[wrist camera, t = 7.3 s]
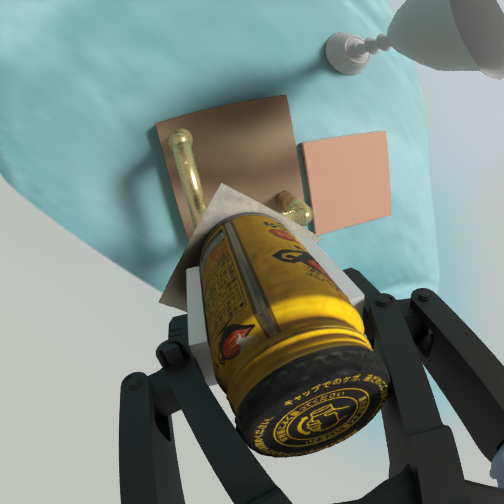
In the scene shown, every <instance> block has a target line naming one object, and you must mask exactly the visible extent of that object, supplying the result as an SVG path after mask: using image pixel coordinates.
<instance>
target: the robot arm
mask: <svg viewBox="0 0 504 504" xmlns="http://www.w3.org/2000/svg"><path fill="white" fill-rule="evenodd" d="M298 241H299V242H300V243H301V244H302V245H303V246H304V247H305V249H306V250H307V251H308V252H309V254H310V255H311V256H312V257H313V258H314V260H316V261H317V262H318V263H319V265H320V267H321V268H322V269H323V270H324V272H325V273H326V274H327V275H328V277H329V278H330V279H331V280H332V281H333V282H334V284H335V285H336V286H337V287H338V288H339V289H340V291H341V292H342V293H343V294H344V295H346V296H347V297H348V298H349V301H350V302H351V304H352V306H353V307H354V308H355V309H356V310H357V311H358V313H359V315H360V317H361V319H362V321H363V325H364V330H365V334H366V336H367V339H368V341H369V343H370V345H371V348H372V350H373V351H374V352H375V353H376V354H377V355H378V356H379V357H380V358H381V359H382V361H383V363H384V364H385V365H386V367H387V370H388V374H389V377H390V381H391V385H390V391H389V394H388V397H387V399H386V401H385V403H384V405H383V406H382V408H381V412H382V418H383V422H384V429H385V435H386V441H387V447H388V453H389V461H390V467H389V479H387V480H385V481H384V482H382V483H381V484H380V485H378V486H377V487H376V488H375V489H373V490H372V491H371V492H369V493H368V494H366V495H365V496H364V497H362V498H361V499H358V500H353V501H348V502H341V503H334V504H504V366H503V365H502V364H501V363H500V361H499V360H498V359H497V358H496V357H495V355H494V354H493V353H492V352H491V351H490V350H489V349H488V348H487V346H486V345H485V344H484V343H483V342H482V341H481V340H480V339H479V338H478V337H477V335H476V334H475V333H474V332H473V331H472V330H471V329H470V328H469V327H468V326H467V325H466V324H465V323H464V322H463V321H462V320H461V319H460V318H459V316H458V315H457V314H456V313H455V312H454V311H453V310H452V309H451V308H449V306H448V305H447V304H445V302H444V301H443V300H441V298H440V297H439V296H438V295H437V294H435V293H434V292H433V291H432V290H430V289H426V288H419V289H416V290H414V291H413V292H412V293H411V298H409V299H402V300H396V299H395V298H394V297H393V296H391V295H390V294H385V293H380V292H379V291H378V290H377V289H376V288H375V287H374V286H373V285H372V284H371V283H370V282H369V281H368V280H367V279H366V278H365V277H364V276H363V275H362V274H361V273H360V272H359V271H357V270H355V269H353V268H348V269H345V270H341V269H340V268H339V267H338V266H337V265H336V264H335V262H334V261H333V260H332V259H331V258H330V257H329V256H328V255H327V254H326V253H325V252H324V251H323V250H322V249H321V248H320V247H319V246H318V245H317V244H316V243H315V242H314V241H313V240H312V239H311V238H310V237H309V238H305V239H301V240H298ZM186 278H187V314H185V315H180V316H176V317H173V318H172V320H171V321H170V323H169V333H168V337H169V338H168V340H166V341H164V342H163V343H161V344H160V345H159V347H158V348H157V350H156V357H157V358H158V360H159V362H160V364H161V366H162V367H163V368H162V369H160V370H159V371H157V372H156V373H153V374H151V375H149V376H147V375H146V374H144V373H142V372H134V373H131V374H129V375H128V376H127V377H125V378H124V380H123V381H122V384H121V393H120V413H119V474H120V475H119V476H120V495H121V504H185V500H184V495H183V490H182V484H181V479H180V473H179V467H178V461H177V455H176V448H175V440H174V433H173V425H172V417H171V414H172V413H174V412H176V411H179V410H181V409H182V411H183V413H184V415H185V417H186V419H187V422H188V424H189V425H190V427H191V429H192V431H193V433H194V435H195V437H196V439H197V441H198V443H199V445H200V447H201V448H202V450H203V452H204V454H205V456H206V458H207V459H208V461H209V463H210V465H211V466H212V468H213V470H214V472H215V473H216V475H217V477H218V478H219V480H220V482H221V483H222V485H223V487H224V488H225V490H226V491H227V493H228V495H229V496H230V498H231V499H232V501H233V502H234V504H292V503H291V501H290V500H289V499H288V498H287V497H286V495H285V494H284V493H283V492H282V491H281V489H280V488H279V487H277V485H275V483H274V482H273V481H272V480H271V478H270V477H269V475H268V474H267V473H266V471H265V470H264V469H263V467H262V466H261V465H260V463H259V462H258V461H257V459H256V458H255V457H254V455H253V454H252V452H251V451H250V449H249V448H248V446H247V445H246V444H245V442H244V441H243V439H242V438H241V436H240V435H239V433H238V432H237V430H236V429H235V428H234V426H233V424H232V423H231V421H230V420H229V418H228V417H227V415H226V414H225V412H224V411H223V409H222V407H221V406H220V404H219V403H218V401H217V400H216V398H215V396H214V395H213V393H212V392H211V390H210V388H209V386H211V385H216V384H218V383H217V381H216V379H215V375H214V370H213V364H212V358H211V350H210V344H209V337H208V330H207V323H206V315H205V308H204V299H203V291H202V283H201V274H200V268H199V266H197V267H193V268H189V269H186ZM422 363H423V364H422ZM423 365H424V366H425V367H426V369H427V370H428V372H429V373H430V375H431V376H432V377H433V379H434V380H435V382H436V383H437V385H438V386H439V388H440V389H441V390H442V392H443V393H444V395H445V396H446V398H447V399H448V401H449V402H450V404H451V405H452V407H453V409H454V410H455V412H456V413H457V415H458V416H459V418H460V419H461V421H462V422H463V424H464V426H465V427H466V428H467V430H468V432H469V433H470V435H471V437H472V438H473V440H474V442H475V443H476V445H477V446H478V448H479V449H480V451H481V452H482V453H483V454H484V456H485V457H486V458H487V459H488V460H489V461H490V462H491V463H492V464H491V470H490V477H492V478H493V479H497V482H498V488H497V487H493V486H488V485H484V484H480V483H475V482H472V481H468V480H465V479H464V476H463V471H462V467H461V463H460V459H459V455H458V451H457V447H456V444H455V440H454V436H453V433H452V430H451V428H450V427H449V426H447V425H443V423H442V421H441V418H440V415H439V412H438V408H437V405H436V402H435V399H434V396H433V393H432V390H431V387H430V384H429V381H428V378H427V375H426V373H425V370H424V367H423Z"/></svg>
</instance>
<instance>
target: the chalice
mask: <svg viewBox="0 0 504 504" xmlns="http://www.w3.org/2000/svg"><path fill="white" fill-rule="evenodd" d="M387 35H388V36H386V35H384V34H380V35H378V36H377V39H375V38H373V37H368V38H366V39H365V40H364V39H362V38H361V37H360V36H357V35H354V34H350V33H346V32H338V33H335V34H333V35H332V36H330V37H329V39H328V40H327V42H326V48H325V51H326V56H327V59H328V61H329V62H330V64H331V65H332V66H333V67H334V68H335V69H336V70H337V71H339V72H340V73H342V74H345V75H356V74H359V73H360V72H361V71H363V70H364V68H365V67H366V65H367V64H368V63H369V61H370V58H371V54H377V53H378V52H379V51H380V49H382V50H384V51H388V50H389V49H390V48H391V46H392V47H393V48H394V49H395V50H396V51H397V52H399V53H401V54H403V55H405V56H406V57H408V58H410V59H412V60H414V61H416V62H418V63H420V64H423V65H425V66H428V67H431V68H433V69H436V70H442V71H461V70H463V71H467V70H468V71H481V72H483V73H484V74H486V75H487V76H489V77H490V78H493V79H499V80H500V79H502V78H504V14H503V12H502V10H501V8H500V6H499V5H498V3H497V1H496V0H406V2H405V3H404V4H403V5H402V6H401V7H400V9H398V11H397V12H396V14H395V16H394V18H393V20H392V22H391V24H390V25H389V28H388V31H387Z"/></svg>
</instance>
